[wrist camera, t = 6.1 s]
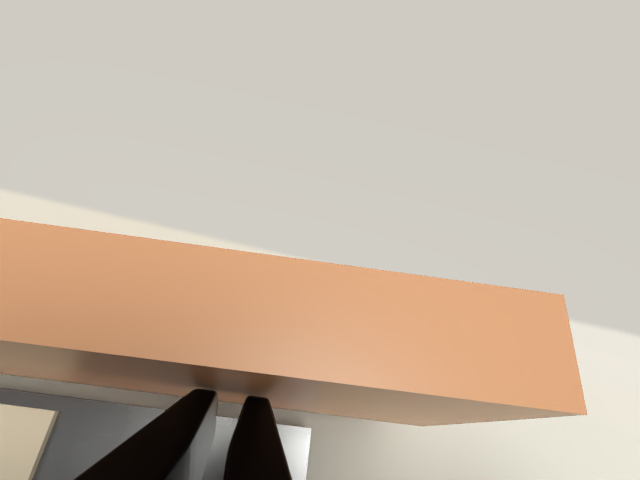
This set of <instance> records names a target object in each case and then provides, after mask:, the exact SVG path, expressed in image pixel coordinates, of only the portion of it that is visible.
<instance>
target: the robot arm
mask: <svg viewBox="0 0 640 480" xmlns="http://www.w3.org/2000/svg"><path fill="white" fill-rule="evenodd" d="M217 402H218V394H217V392H216V391H214V390H206V389H199V388H198V389H194V390H192V391H191V392H189V393H188V394H187V395H185V396H184V397H183V398H181V399H180V400H179V401H177V402H176V403H175V404H173V405H172V406H171V407H169V408H168V409H167V410H165V411H164V412H163V413H161V414H160V415H159V416H157V417H156V418H155V419H153V420H152V421H151V422H149V423H148V424H147V425H145V426H144V427H143V428H141V429H140V430H139V431H137V432H136V433H135V434H133V435H132V436H131V437H129V438H128V439H127V440H125V441H124V442H123V443H121V444H120V445H119V446H117V447H116V448H115V449H113V450H112V451H111V452H109V453H108V454H107V455H105V456H104V457H103V458H101V459H100V460H99V461H97V462H96V463H95V464H93V465H92V466H91V467H89V468H88V469H87V470H85V471H84V472H83V473H81V474H80V475H79V476H77V477H76V478H75V479H73V480H202V477H203V474H204V470H205V467H206V463H207V460H208V456H209V453H210V449H211V446H212V442H213V439H214V434H215V428H216V416H217ZM223 480H292V477H291V473H290V470H289V466H288V463H287V459H286V456H285V452H284V449H283V445H282V442H281V438H280V435H279V431H278V428H277V424H276V421H275V418H274V414H273V411H272V407H271V404H270V401H269V399H268V398H266V397H259V396H251V395H250V396H247V398H246V399H245V402H244V405H243V407H242V410H241V413H240V416H239V418H238V421H237V424H236V427H235V430H234V432H233V435H232V438H231V441H230V444H229V448H228V452H227V457H226V463H225V470H224V477H223Z"/></svg>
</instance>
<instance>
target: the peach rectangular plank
mask: <svg viewBox="0 0 640 480" xmlns="http://www.w3.org/2000/svg"><path fill="white" fill-rule="evenodd" d="M0 374H7V375H15V376H23V377H31V378H39V379H47V380H55V381H63V382H71V383H79V384H87V385H95V386H103V387H111V388H119V389H127V390H135V391H143V392H151V393H159V394H167V395H175V396H183V397H184V396H185V395H187V394H188V393H189V392H191V391H192V390H194V389H198V388H199V389H206V390H214V391H216V392H217V394H218V401H224V402H232V403H240V404H244V402H245V399H246V398H247V396H250V395H251V396H259V397H266V398H268V399H269V401H270V404H271V407H272V408H280V409H288V410H296V411H304V412H312V413H320V414H328V415H336V416H344V417H352V418H360V419H368V420H376V421H384V422H392V423H400V424H408V425H416V426H434V425H448V424H462V423H476V422H491V421H505V420H519V419H533V418H548V417H562V416H576V415H587V411H586V406H585V401H584V396H583V390H582V385H581V380H580V375H579V370H578V365H577V360H576V355H575V350H574V345H573V340H572V334H571V329H570V324H569V319H568V314H567V310H566V304H565V299H564V295H560V294H553V293H546V292H539V291H531V290H523V289H516V288H509V287H502V286H495V285H486V284H480V283H473V282H472V283H471V282H465V281H458V280H450V279H443V278H436V277H428V276H421V275H413V274H406V273H399V272H391V271H384V270H377V269H369V268H362V267H355V266H348V265H340V264H333V263H326V262H318V261H311V260H304V259H296V258H289V257H282V256H274V255H267V254H260V253H252V252H245V251H237V250H230V249H223V248H215V247H208V246H201V245H193V244H186V243H179V242H171V241H164V240H157V239H149V238H142V237H135V236H127V235H120V234H113V233H105V232H98V231H91V230H83V229H76V228H69V227H61V226H54V225H46V224H39V223H32V222H24V221H17V220H10V219H2V218H0Z"/></svg>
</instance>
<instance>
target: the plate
mask: <svg viewBox="0 0 640 480" xmlns="http://www.w3.org/2000/svg"><path fill="white" fill-rule="evenodd" d="M165 410H166V409H158V408H150V407H143V406H135V405H127V404H119V403H112V402H104V401H96V400H88V399H81V398H73V397H65V396H57V395H49V394H42V393H34V392H26V391H18V390H11V389H3V388H0V480H73V479H75V478H76V477H77V476H79V475H80V474H81V473H83V472H84V471H85V470H87V469H88V468H89V467H91V466H92V465H93V464H95V463H96V462H97V461H99V460H100V459H101V458H103V457H104V456H105V455H107V454H108V453H109V452H111V451H112V450H113V449H115V448H116V447H117V446H119V445H120V444H121V443H123V442H124V441H125V440H127V439H128V438H129V437H131V436H132V435H133V434H135V433H136V432H137V431H139V430H140V429H141V428H143V427H144V426H145V425H147V424H148V423H149V422H151V421H152V420H153V419H155V418H156V417H157V416H159V415H160V414H161V413H163V412H164V411H165ZM237 421H238V419H236V418H228V417H220V416H216V428H215V434H214V439H213V442H212V446H211V449H210V453H209V456H208V460H207V463H206V467H205V470H204V474H203V477H202V480H223V477H224V470H225V463H226V457H227V452H228V448H229V444H230V441H231V438H232V435H233V432H234V430H235V427H236V424H237ZM277 428H278V431H279V435H280V438H281V442H282V445H283V449H284V452H285V456H286V459H287V463H288V466H289V470H290V473H291V477H292V480H306V474H307V465H308V456H309V447H310V438H311V429H312V428H306V427H298V426H290V425H282V424H277Z"/></svg>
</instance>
